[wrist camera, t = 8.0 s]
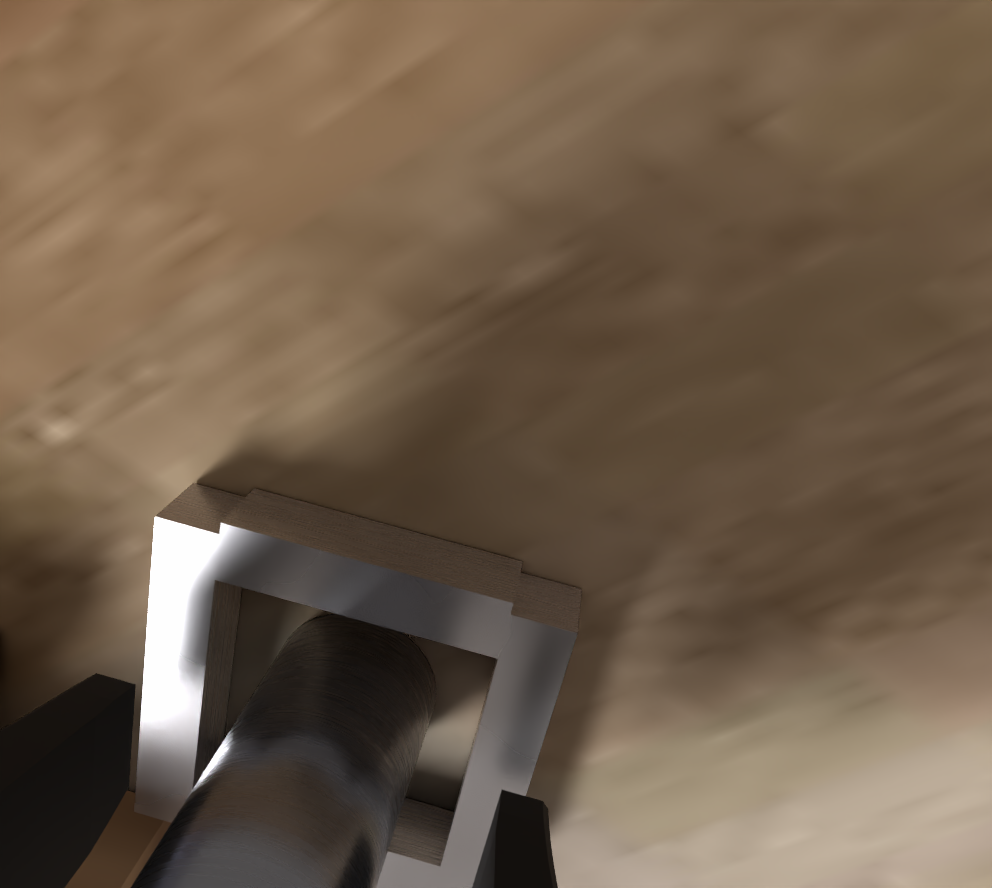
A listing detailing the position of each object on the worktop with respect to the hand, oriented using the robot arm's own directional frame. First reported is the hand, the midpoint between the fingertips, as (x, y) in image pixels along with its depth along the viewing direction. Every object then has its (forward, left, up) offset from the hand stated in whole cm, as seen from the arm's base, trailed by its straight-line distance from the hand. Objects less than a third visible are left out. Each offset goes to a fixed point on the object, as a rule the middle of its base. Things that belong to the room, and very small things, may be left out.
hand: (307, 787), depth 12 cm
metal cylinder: (0, 0, -2) cm, 2 cm away
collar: (0, 0, -2) cm, 2 cm away
